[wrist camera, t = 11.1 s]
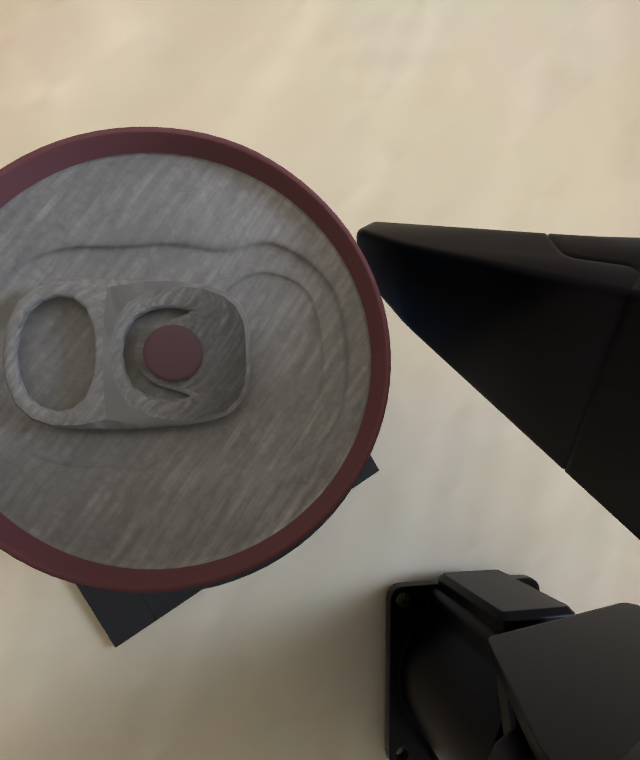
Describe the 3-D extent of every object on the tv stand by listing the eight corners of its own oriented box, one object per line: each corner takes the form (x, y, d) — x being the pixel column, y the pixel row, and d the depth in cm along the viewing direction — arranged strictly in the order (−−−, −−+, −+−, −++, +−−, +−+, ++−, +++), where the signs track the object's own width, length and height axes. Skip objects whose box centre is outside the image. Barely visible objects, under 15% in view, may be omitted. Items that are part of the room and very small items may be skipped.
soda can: (284, 305, 18) (422, 113, 7) (288, 487, 18) (446, 610, 6) (90, 300, 17) (-162, 33, 5) (88, 499, 16) (-195, 699, 5)
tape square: (223, 201, 18) (223, 199, 18) (377, 469, 19) (379, 470, 19) (-75, 337, 16) (-79, 336, 15) (116, 645, 16) (115, 648, 16)
